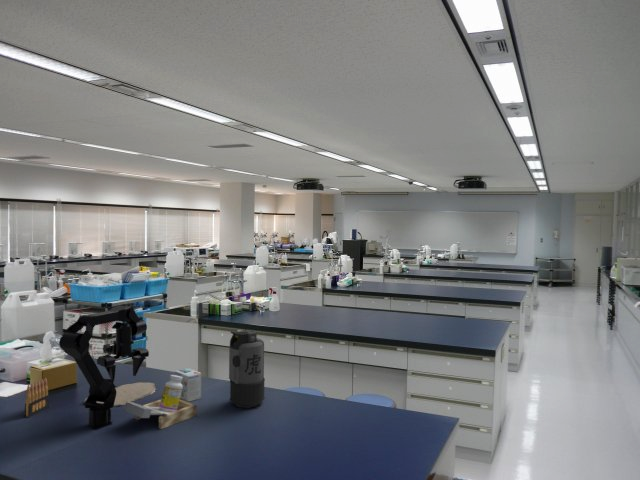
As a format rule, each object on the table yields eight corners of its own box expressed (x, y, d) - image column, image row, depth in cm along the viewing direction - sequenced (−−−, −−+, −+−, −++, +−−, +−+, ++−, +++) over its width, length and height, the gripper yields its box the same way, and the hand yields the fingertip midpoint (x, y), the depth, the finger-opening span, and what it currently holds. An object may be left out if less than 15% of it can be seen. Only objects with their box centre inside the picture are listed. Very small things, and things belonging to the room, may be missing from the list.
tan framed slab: (161, 429, 171) (161, 415, 171) (135, 418, 180) (135, 405, 180) (196, 415, 184) (196, 403, 184) (170, 406, 193) (170, 394, 193)
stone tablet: (80, 404, 195) (80, 398, 195) (141, 384, 220) (141, 378, 220) (106, 413, 186) (106, 406, 186) (166, 391, 212) (166, 385, 212)
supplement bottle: (159, 407, 185) (168, 373, 188) (176, 410, 186) (185, 377, 189) (157, 410, 178) (167, 375, 182) (175, 413, 180) (185, 378, 183)
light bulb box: (173, 395, 205) (174, 370, 205) (187, 392, 210) (188, 367, 210) (187, 402, 198) (187, 376, 197) (201, 398, 203) (201, 372, 202)
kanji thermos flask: (270, 405, 195) (271, 331, 195) (238, 412, 187) (239, 335, 187) (255, 394, 207) (255, 325, 206) (223, 401, 199) (224, 329, 198)
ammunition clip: (28, 417, 180) (28, 385, 179) (24, 417, 180) (24, 385, 180) (49, 407, 190) (49, 377, 190) (45, 406, 190) (45, 376, 190)
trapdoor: (142, 418, 167) (145, 409, 168) (123, 410, 174) (125, 401, 175) (186, 419, 182) (188, 411, 183) (167, 412, 189) (169, 404, 190)
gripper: (133, 331, 198) (133, 369, 198) (89, 339, 183) (89, 380, 183) (149, 335, 191) (149, 374, 192) (105, 344, 176) (105, 386, 176)
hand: (123, 378), depth 186 cm, fingers open, 9 cm apart
